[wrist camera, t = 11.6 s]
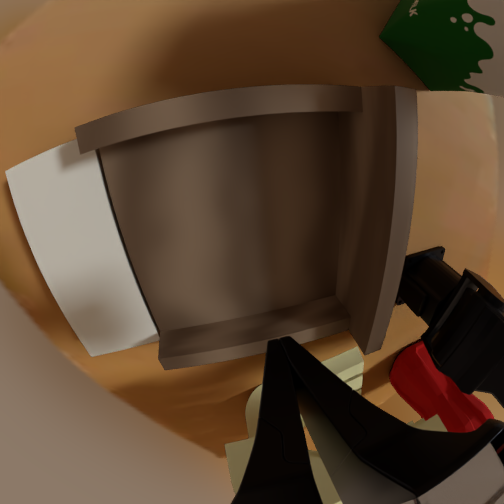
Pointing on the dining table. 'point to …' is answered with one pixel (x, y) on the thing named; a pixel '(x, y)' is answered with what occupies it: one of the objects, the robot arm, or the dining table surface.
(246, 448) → the slatted curved stool
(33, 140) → the dining table surface
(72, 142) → the panel
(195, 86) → the dining table surface
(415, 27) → the milk carton
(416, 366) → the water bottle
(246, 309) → the brown open box
